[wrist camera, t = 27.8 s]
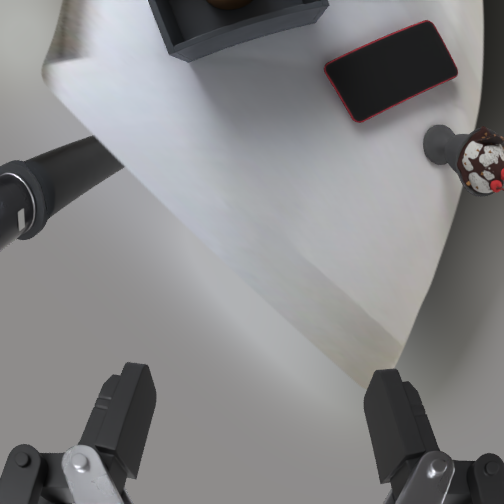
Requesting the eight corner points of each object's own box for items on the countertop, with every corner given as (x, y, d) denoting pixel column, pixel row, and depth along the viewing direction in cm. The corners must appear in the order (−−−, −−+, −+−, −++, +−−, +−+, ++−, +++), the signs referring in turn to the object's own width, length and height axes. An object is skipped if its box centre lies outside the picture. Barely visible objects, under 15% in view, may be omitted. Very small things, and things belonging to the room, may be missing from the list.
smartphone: (320, 66, 29) (430, 18, 24) (320, 67, 30) (427, 19, 25) (356, 125, 31) (460, 75, 26) (354, 124, 32) (457, 75, 27)
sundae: (440, 182, 34) (507, 231, 21) (406, 144, 33) (472, 176, 20) (471, 146, 32) (547, 179, 18) (439, 106, 30) (516, 121, 17)
